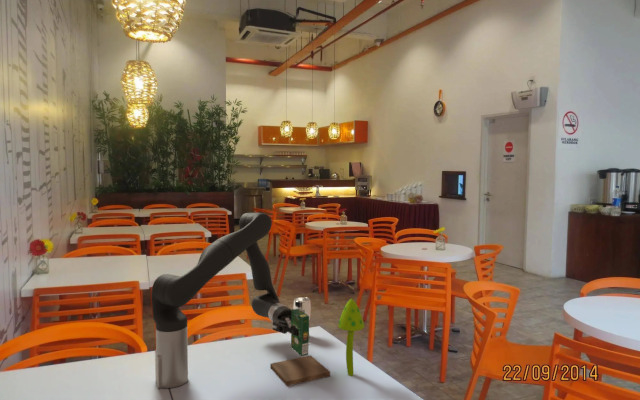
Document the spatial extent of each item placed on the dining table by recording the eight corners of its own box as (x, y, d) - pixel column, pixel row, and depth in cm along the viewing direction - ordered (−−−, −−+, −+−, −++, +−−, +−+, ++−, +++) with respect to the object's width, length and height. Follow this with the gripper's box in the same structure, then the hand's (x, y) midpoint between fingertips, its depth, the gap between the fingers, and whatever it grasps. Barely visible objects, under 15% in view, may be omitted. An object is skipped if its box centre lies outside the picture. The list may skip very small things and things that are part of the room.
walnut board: (287, 386, 132) (287, 381, 132) (270, 368, 145) (270, 363, 145) (330, 376, 139) (330, 371, 139) (310, 359, 152) (310, 355, 152)
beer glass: (310, 339, 170) (310, 302, 169) (292, 339, 170) (292, 301, 169) (310, 333, 177) (311, 297, 176) (293, 333, 177) (294, 296, 176)
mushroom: (342, 382, 135) (343, 303, 134) (334, 370, 144) (335, 295, 142) (367, 378, 138) (368, 301, 136) (358, 367, 146) (359, 294, 144)
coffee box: (309, 355, 139) (309, 315, 138) (301, 357, 138) (301, 316, 137) (298, 346, 146) (298, 308, 145) (290, 347, 145) (290, 309, 144)
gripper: (263, 308, 151) (282, 324, 136) (299, 303, 158) (321, 317, 143) (263, 329, 152) (282, 347, 137) (299, 323, 158) (321, 340, 143)
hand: (302, 332), depth 140 cm, fingers closed on coffee box, 3 cm apart
